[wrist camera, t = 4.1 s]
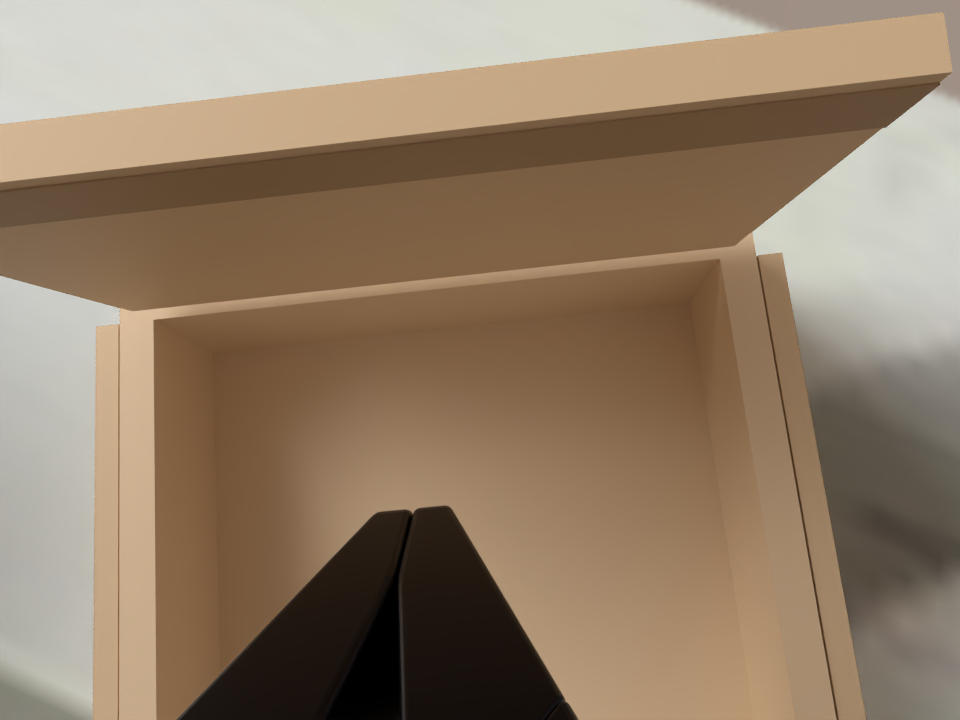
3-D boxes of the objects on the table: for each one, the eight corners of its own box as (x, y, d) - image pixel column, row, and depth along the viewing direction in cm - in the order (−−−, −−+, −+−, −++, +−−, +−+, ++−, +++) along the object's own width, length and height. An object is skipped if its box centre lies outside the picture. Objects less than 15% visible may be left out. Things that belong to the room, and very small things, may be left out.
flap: (734, 247, 13) (952, 74, 7) (132, 312, 14) (-239, 212, 7) (730, 214, 13) (943, 8, 7) (130, 280, 14) (-242, 151, 7)
